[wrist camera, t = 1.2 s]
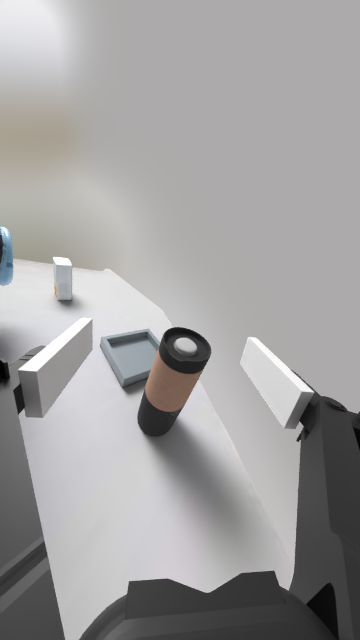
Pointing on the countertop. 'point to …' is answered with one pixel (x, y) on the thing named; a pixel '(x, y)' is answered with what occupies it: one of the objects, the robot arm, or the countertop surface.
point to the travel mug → (172, 379)
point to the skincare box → (62, 278)
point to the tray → (130, 355)
